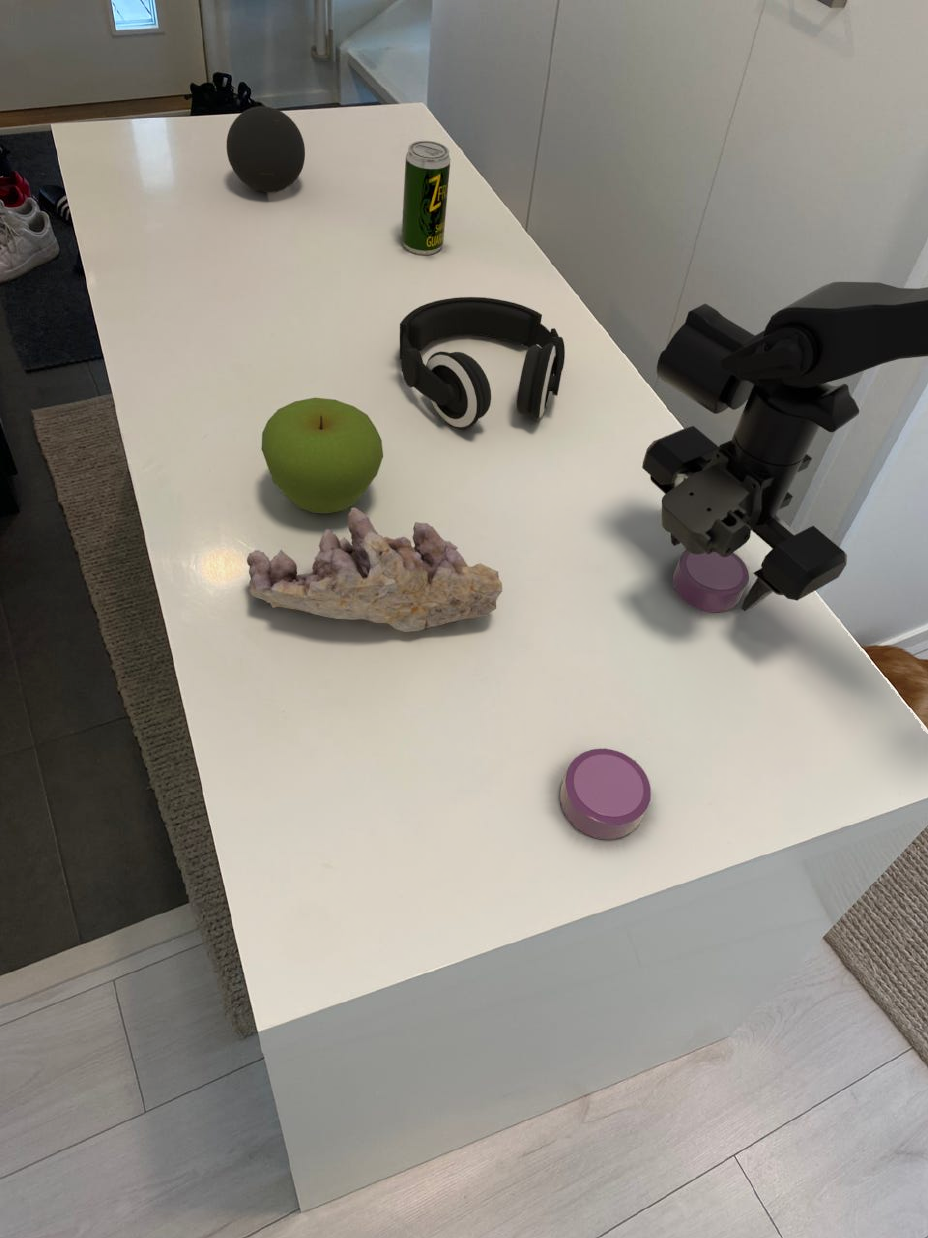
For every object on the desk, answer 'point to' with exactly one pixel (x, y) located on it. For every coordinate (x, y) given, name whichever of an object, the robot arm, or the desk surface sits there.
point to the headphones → (458, 376)
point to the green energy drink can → (425, 197)
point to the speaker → (265, 149)
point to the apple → (322, 453)
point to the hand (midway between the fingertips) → (710, 575)
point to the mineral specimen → (379, 579)
